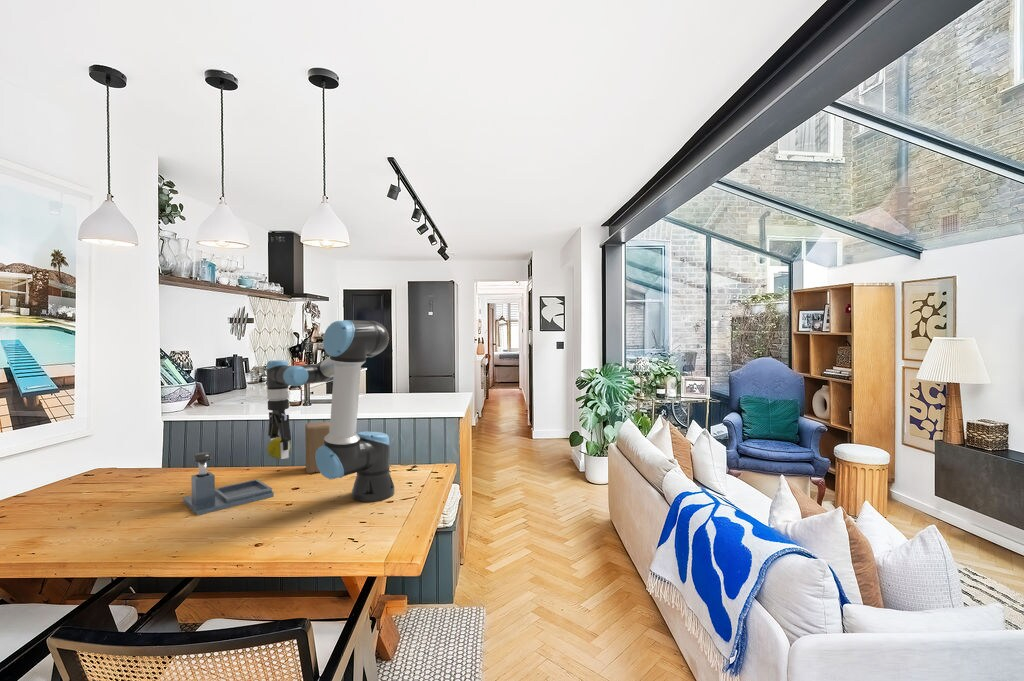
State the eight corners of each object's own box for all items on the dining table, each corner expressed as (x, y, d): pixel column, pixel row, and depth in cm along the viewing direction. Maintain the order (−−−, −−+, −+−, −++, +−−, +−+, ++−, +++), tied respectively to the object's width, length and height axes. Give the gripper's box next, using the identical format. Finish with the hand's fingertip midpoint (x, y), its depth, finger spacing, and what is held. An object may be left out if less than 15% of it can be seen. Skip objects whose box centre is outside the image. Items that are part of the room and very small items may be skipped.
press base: (273, 496, 174) (273, 468, 173) (197, 515, 156) (196, 484, 156) (255, 485, 186) (255, 458, 185) (183, 501, 168) (182, 472, 168)
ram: (213, 483, 165) (212, 453, 165) (196, 487, 161) (196, 456, 161) (209, 480, 168) (208, 451, 168) (192, 483, 165) (192, 454, 164)
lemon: (280, 461, 181) (279, 440, 181) (261, 461, 182) (261, 440, 182) (297, 454, 192) (296, 434, 192) (279, 453, 193) (278, 434, 193)
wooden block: (305, 467, 209) (305, 422, 208) (329, 465, 213) (329, 420, 212) (306, 474, 200) (305, 427, 199) (331, 471, 204) (331, 425, 203)
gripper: (299, 400, 182) (301, 458, 182) (277, 396, 197) (278, 450, 197) (279, 402, 176) (280, 463, 177) (257, 398, 191) (259, 453, 191)
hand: (279, 456), depth 187 cm, fingers closed on lemon, 9 cm apart
